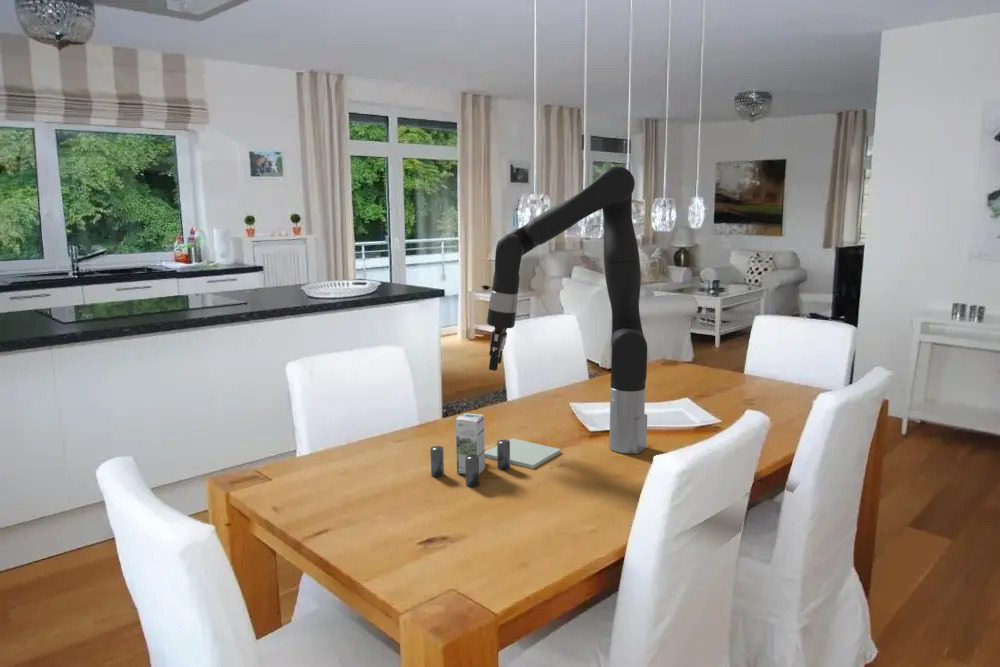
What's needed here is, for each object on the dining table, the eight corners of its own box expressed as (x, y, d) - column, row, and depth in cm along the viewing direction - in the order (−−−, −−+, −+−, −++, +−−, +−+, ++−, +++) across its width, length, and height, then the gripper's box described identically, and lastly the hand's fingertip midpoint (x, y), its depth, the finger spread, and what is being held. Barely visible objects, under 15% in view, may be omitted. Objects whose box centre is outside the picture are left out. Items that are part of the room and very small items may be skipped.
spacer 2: (481, 484, 169) (481, 456, 167) (473, 488, 166) (473, 460, 165) (471, 481, 171) (470, 453, 169) (463, 485, 168) (462, 457, 167)
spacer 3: (512, 467, 179) (512, 441, 178) (505, 471, 177) (505, 444, 175) (502, 464, 181) (502, 438, 180) (495, 468, 178) (494, 442, 177)
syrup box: (485, 468, 179) (485, 413, 176) (477, 477, 173) (476, 420, 170) (465, 466, 180) (463, 411, 178) (456, 474, 175) (454, 418, 172)
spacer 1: (446, 474, 175) (446, 447, 174) (438, 478, 172) (437, 451, 171) (436, 471, 177) (436, 445, 176) (428, 475, 174) (427, 448, 173)
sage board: (561, 452, 189) (561, 449, 189) (532, 468, 178) (532, 465, 178) (512, 441, 198) (512, 438, 198) (482, 456, 187) (482, 452, 187)
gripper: (513, 314, 181) (505, 374, 185) (518, 306, 195) (511, 362, 199) (485, 310, 182) (477, 370, 185) (492, 302, 196) (485, 358, 199)
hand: (494, 366), depth 192 cm, fingers open, 8 cm apart
